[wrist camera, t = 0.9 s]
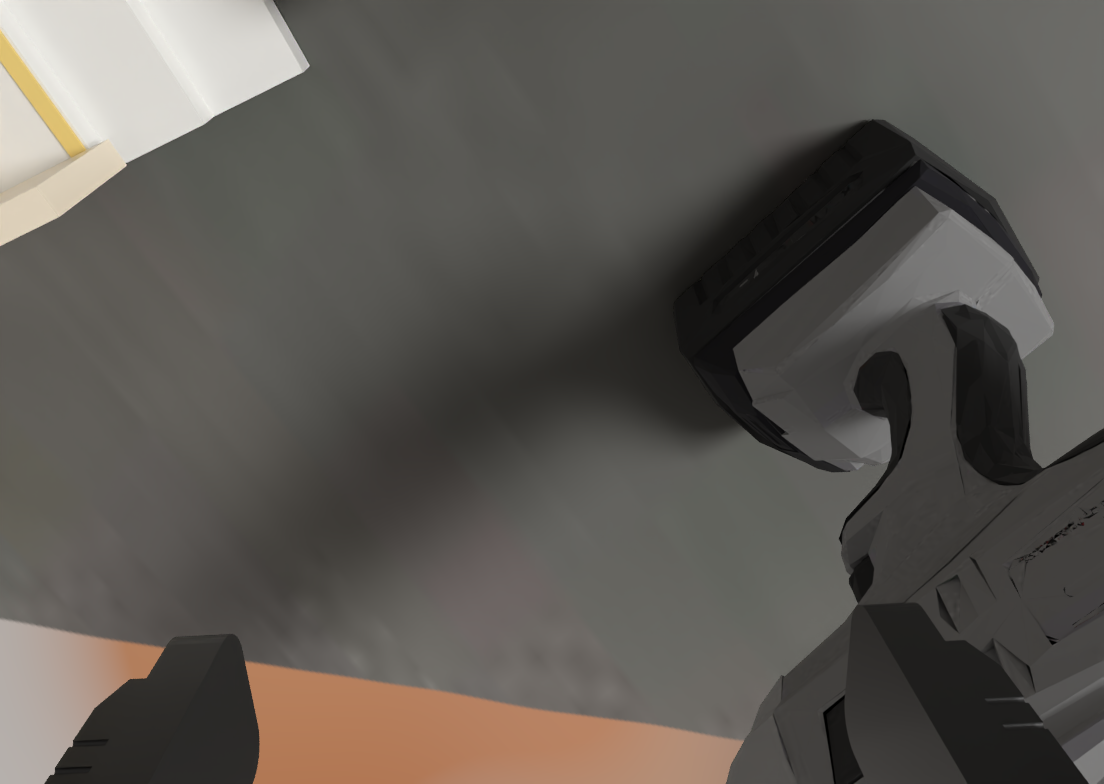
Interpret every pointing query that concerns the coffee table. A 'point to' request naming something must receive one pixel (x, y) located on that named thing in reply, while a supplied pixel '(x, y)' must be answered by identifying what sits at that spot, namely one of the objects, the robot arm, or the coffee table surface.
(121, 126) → the dock
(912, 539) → the cordless drill
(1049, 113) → the coffee table surface
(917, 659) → the robot arm
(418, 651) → the coffee table surface
